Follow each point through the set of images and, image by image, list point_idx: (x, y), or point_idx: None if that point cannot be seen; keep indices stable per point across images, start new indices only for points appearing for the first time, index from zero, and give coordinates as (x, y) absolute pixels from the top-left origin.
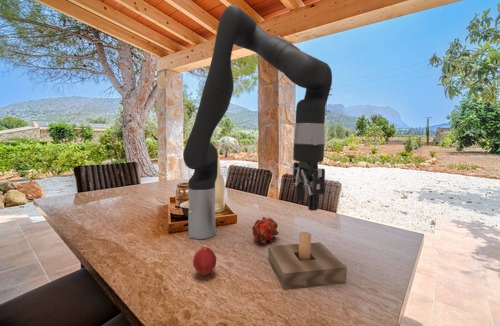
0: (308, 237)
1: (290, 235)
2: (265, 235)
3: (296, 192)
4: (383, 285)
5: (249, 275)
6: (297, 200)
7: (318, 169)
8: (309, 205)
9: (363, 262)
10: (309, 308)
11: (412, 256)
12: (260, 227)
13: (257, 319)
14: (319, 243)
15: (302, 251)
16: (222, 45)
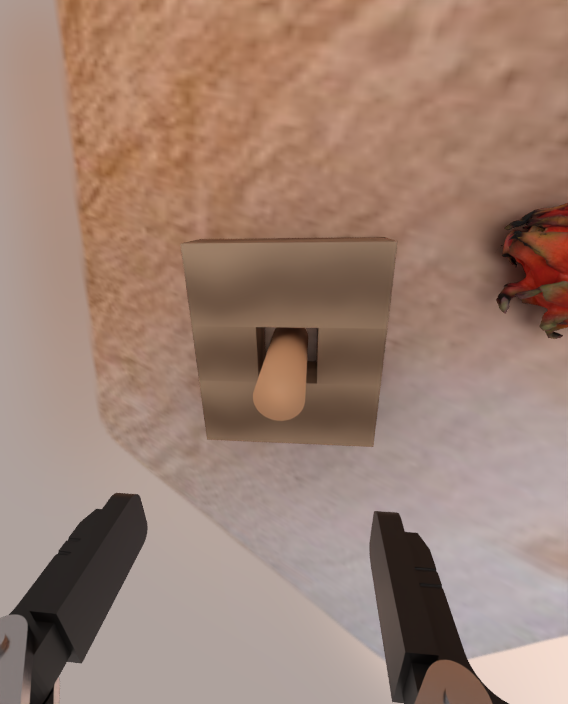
0: (255, 400)
1: (550, 387)
2: (522, 257)
3: (399, 582)
4: (205, 477)
5: (288, 132)
6: (374, 513)
7: None
8: (95, 519)
9: (301, 496)
10: (126, 284)
11: (306, 594)
12: None
13: (76, 122)
14: (365, 440)
15: (268, 353)
16: None
